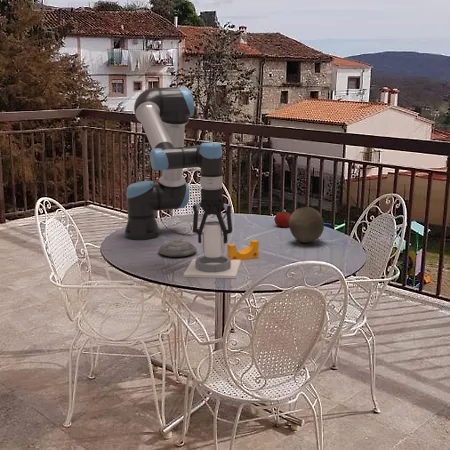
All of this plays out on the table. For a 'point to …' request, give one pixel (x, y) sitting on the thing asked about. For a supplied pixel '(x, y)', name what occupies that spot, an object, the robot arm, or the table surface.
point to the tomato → (282, 219)
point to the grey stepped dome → (177, 248)
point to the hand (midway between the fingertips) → (213, 251)
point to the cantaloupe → (306, 224)
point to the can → (212, 239)
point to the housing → (213, 267)
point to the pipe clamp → (243, 251)
